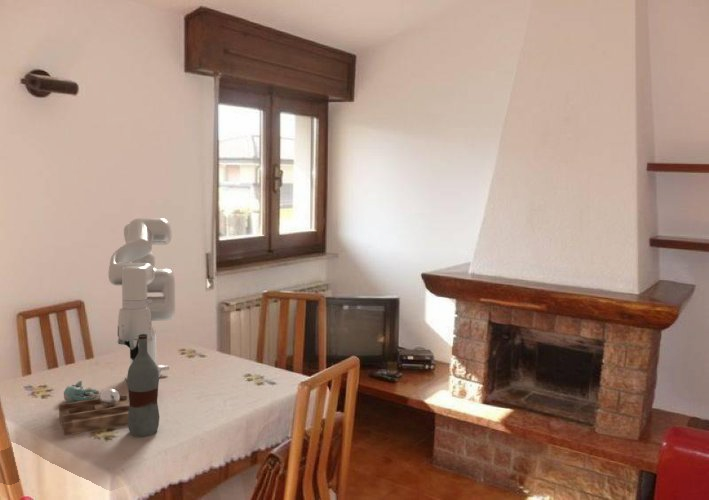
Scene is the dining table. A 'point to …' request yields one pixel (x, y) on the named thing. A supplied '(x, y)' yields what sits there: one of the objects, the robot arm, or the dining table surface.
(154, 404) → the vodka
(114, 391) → the steel ball
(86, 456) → the dining table surface
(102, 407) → the wooden box
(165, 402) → the dining table surface
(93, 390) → the stuffed animal
